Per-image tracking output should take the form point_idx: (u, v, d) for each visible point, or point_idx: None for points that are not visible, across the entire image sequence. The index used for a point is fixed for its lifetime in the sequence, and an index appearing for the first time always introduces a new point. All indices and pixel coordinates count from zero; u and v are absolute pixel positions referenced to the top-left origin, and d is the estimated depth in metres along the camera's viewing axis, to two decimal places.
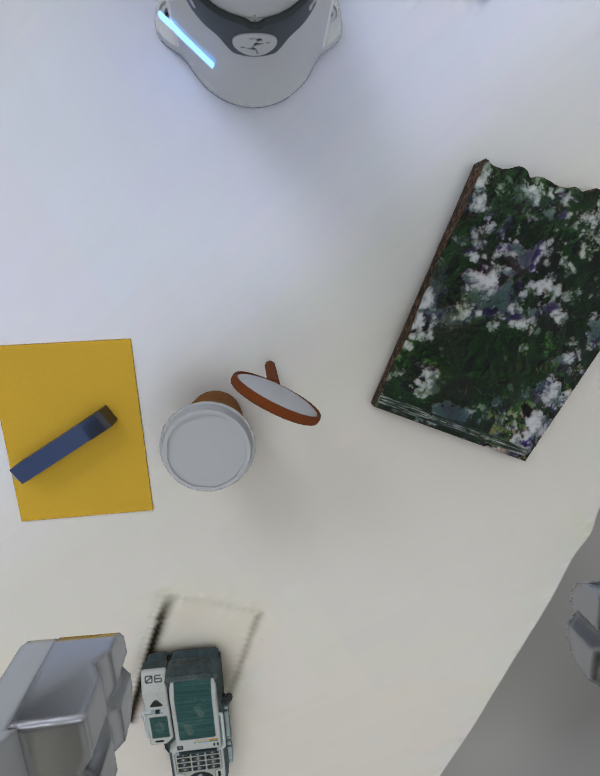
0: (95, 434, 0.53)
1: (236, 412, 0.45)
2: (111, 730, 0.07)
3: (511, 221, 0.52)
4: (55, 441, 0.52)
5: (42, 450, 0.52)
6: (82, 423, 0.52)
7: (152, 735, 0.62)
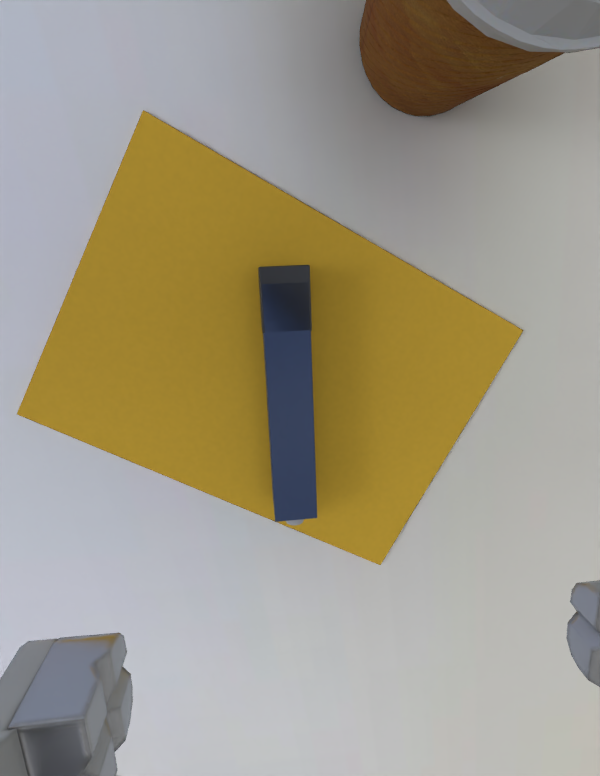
0: (305, 312, 0.21)
1: None
2: (111, 730, 0.07)
3: None
4: (271, 401, 0.22)
5: (274, 438, 0.22)
6: (265, 321, 0.21)
7: None
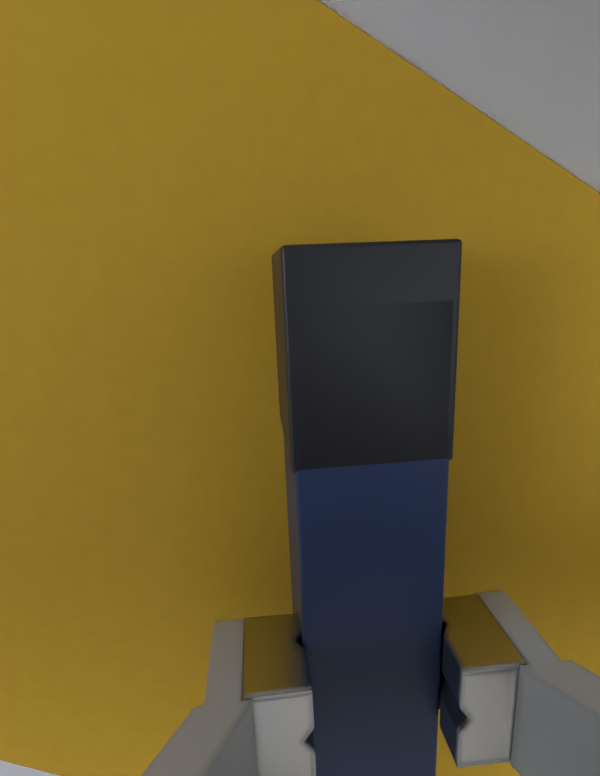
0: (437, 402, 0.06)
1: None
2: None
3: None
4: (314, 669, 0.07)
5: (320, 762, 0.07)
6: (302, 436, 0.06)
7: None
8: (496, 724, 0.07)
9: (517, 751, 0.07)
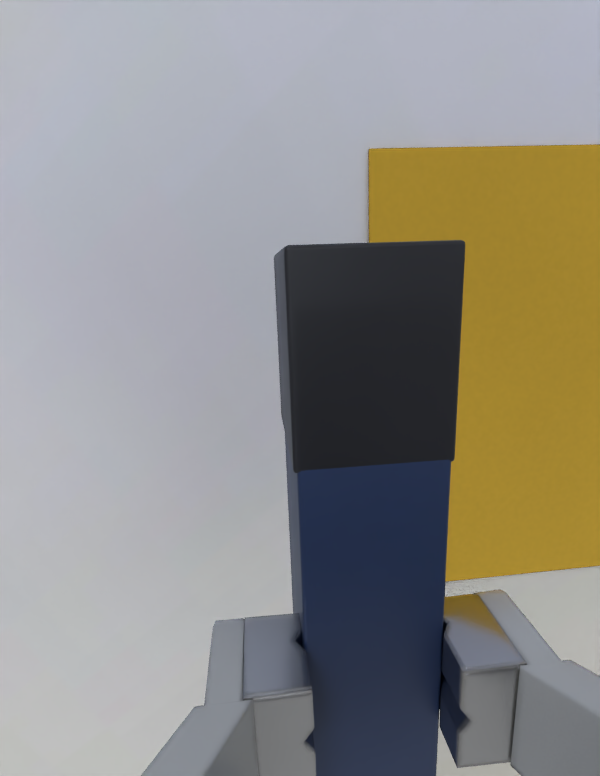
0: (439, 403, 0.06)
1: None
2: None
3: None
4: (314, 670, 0.07)
5: (320, 763, 0.07)
6: (304, 437, 0.06)
7: None
8: (495, 723, 0.07)
9: (517, 751, 0.07)
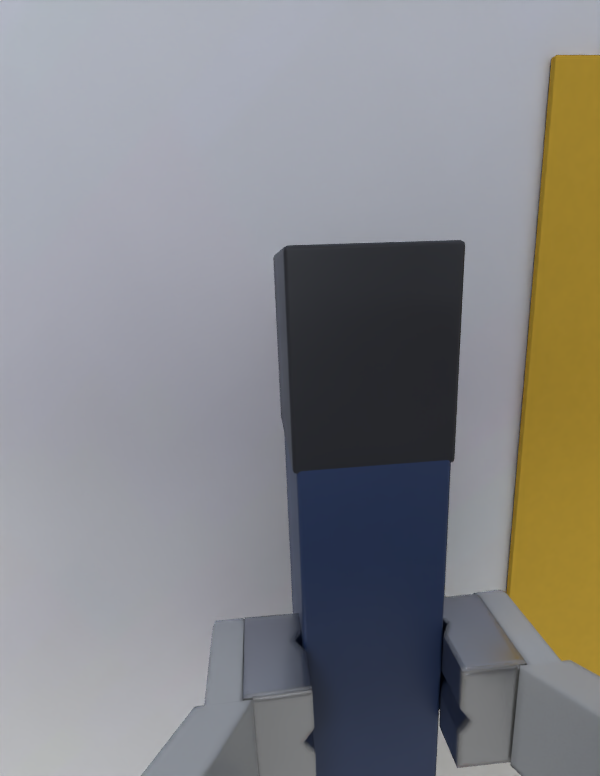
0: (439, 403, 0.06)
1: None
2: None
3: None
4: (314, 670, 0.07)
5: (320, 763, 0.07)
6: (304, 437, 0.06)
7: None
8: (495, 722, 0.07)
9: (517, 751, 0.07)
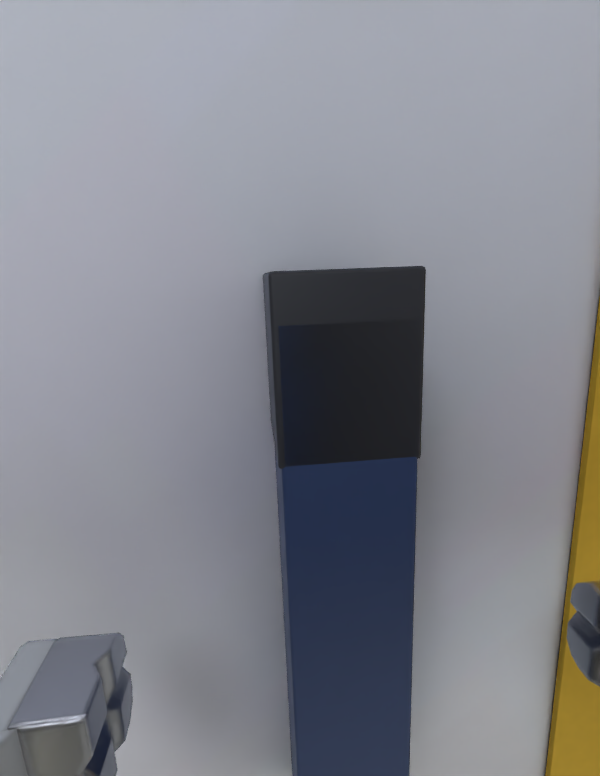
0: (406, 407, 0.07)
1: None
2: (111, 730, 0.07)
3: None
4: (299, 645, 0.08)
5: (305, 730, 0.08)
6: (287, 437, 0.07)
7: None
8: None
9: None
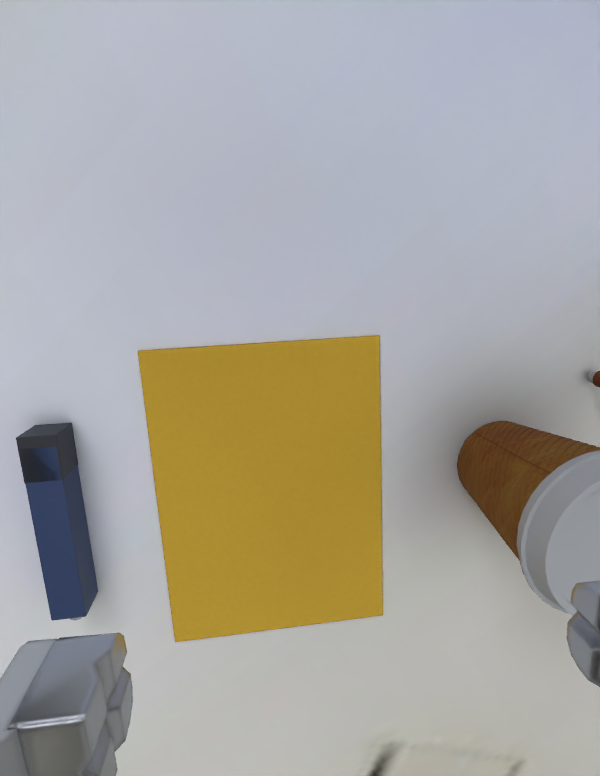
0: (56, 467, 0.28)
1: None
2: (111, 730, 0.07)
3: None
4: (37, 532, 0.29)
5: (42, 558, 0.29)
6: (25, 475, 0.28)
7: None
8: None
9: None
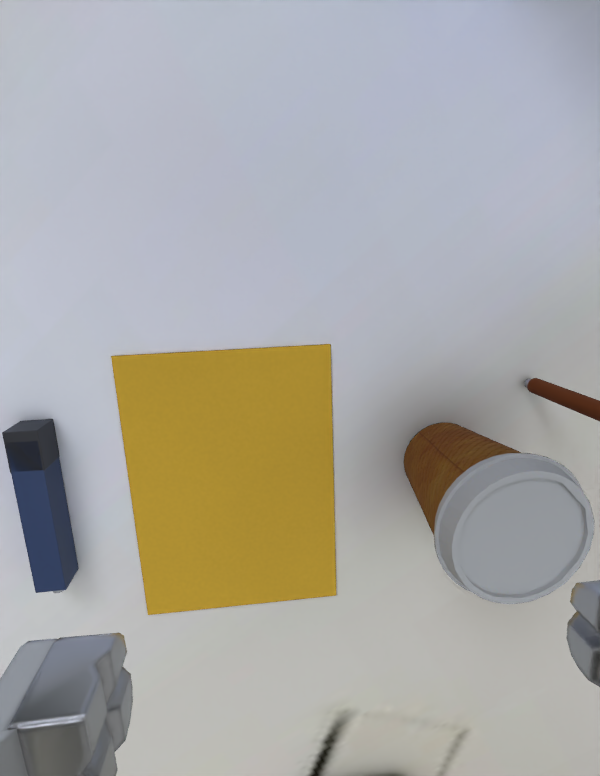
0: (38, 459, 0.32)
1: (566, 471, 0.27)
2: (111, 730, 0.07)
3: None
4: (21, 515, 0.33)
5: (27, 538, 0.33)
6: (11, 465, 0.32)
7: None
8: None
9: None
